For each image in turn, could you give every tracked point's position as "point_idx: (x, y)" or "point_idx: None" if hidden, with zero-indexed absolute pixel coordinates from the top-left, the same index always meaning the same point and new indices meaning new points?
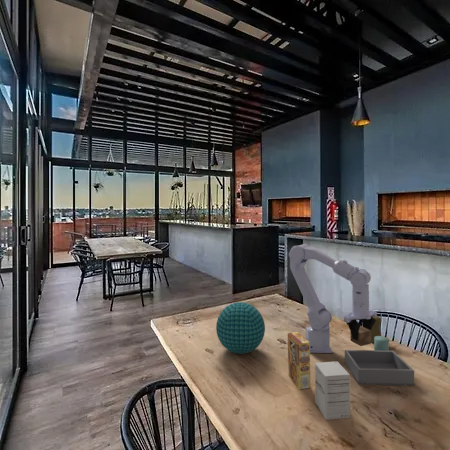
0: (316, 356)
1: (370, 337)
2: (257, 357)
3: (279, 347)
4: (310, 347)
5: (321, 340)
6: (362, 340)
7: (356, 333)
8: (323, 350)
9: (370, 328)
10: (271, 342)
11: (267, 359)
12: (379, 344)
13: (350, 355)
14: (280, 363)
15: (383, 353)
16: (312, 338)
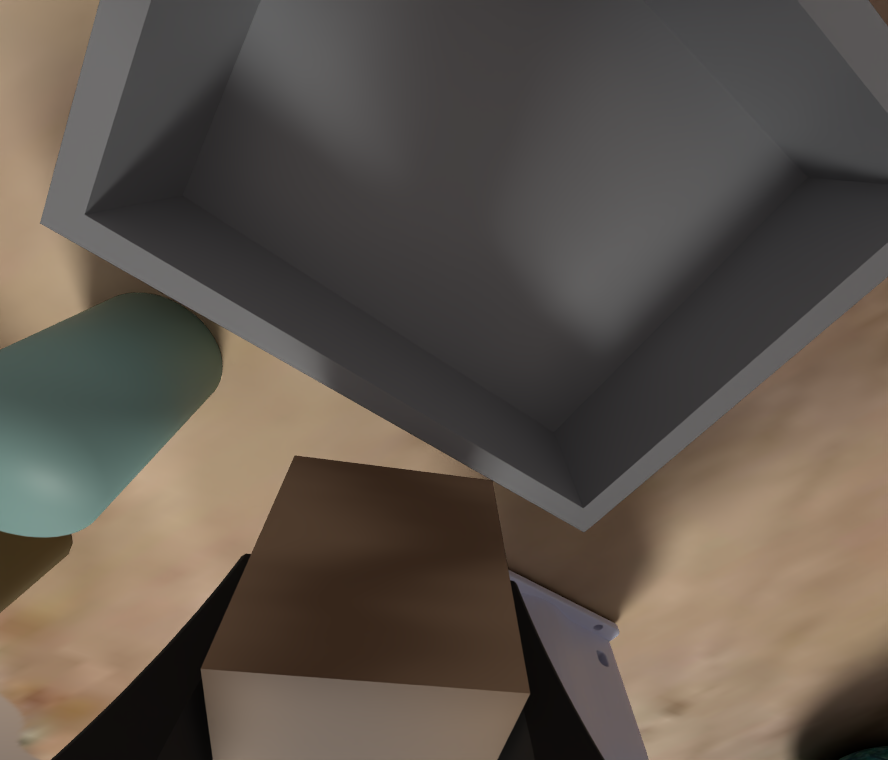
0: (622, 582)
1: (275, 532)
2: (881, 701)
3: (685, 714)
4: (607, 659)
5: (574, 695)
6: (464, 538)
7: (571, 705)
8: (542, 605)
9: (144, 722)
10: (663, 753)
11: (870, 672)
12: (122, 416)
13: (664, 442)
14: (871, 624)
15: (225, 282)
16: (623, 736)
